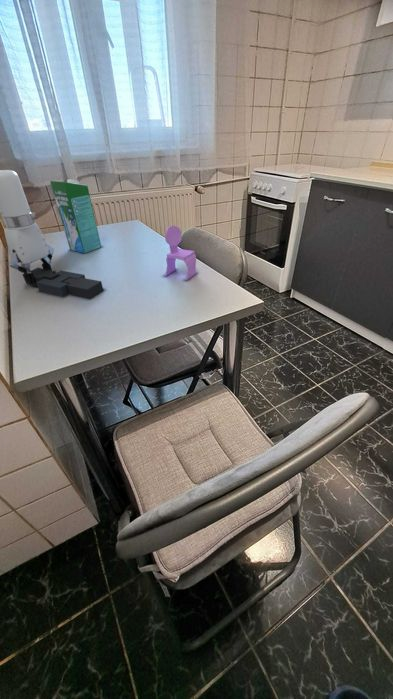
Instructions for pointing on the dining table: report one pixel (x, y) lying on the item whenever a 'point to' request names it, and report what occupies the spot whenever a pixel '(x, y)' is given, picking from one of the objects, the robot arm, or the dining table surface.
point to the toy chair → (178, 252)
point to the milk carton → (76, 215)
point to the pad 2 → (84, 287)
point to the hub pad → (57, 283)
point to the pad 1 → (42, 274)
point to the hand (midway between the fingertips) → (41, 279)
